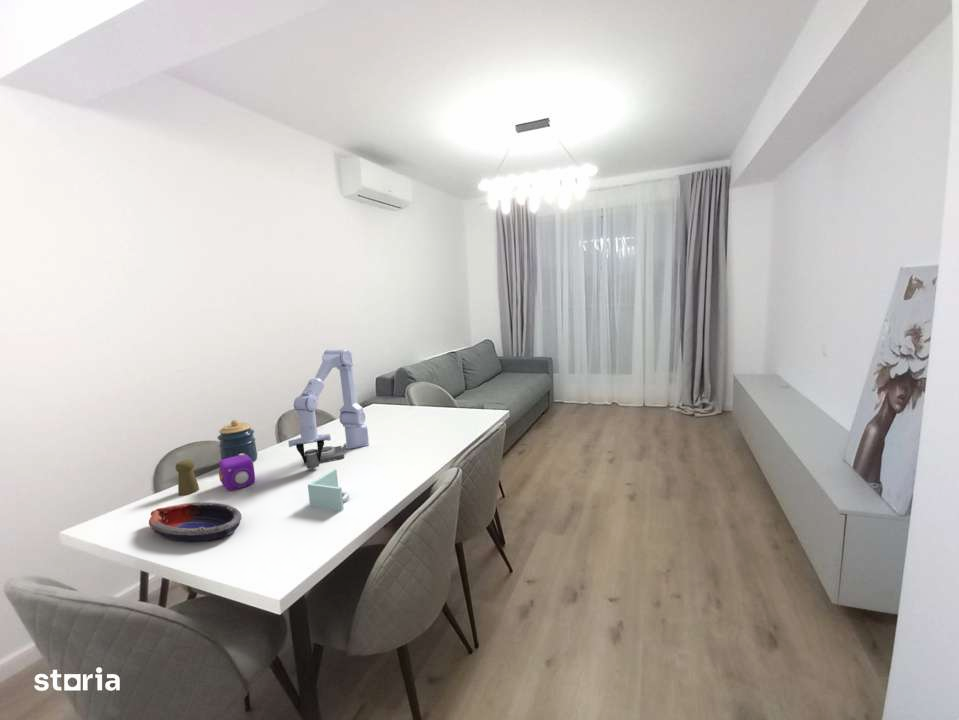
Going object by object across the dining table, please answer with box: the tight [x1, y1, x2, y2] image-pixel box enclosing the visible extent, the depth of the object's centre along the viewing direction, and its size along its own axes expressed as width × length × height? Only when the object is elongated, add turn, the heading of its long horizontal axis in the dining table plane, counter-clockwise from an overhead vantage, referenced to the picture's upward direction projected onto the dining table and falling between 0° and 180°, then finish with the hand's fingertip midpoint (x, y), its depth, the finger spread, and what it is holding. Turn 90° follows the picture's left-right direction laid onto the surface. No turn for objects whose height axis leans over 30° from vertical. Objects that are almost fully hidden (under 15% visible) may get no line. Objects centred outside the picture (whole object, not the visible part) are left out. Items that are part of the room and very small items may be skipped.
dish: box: [148, 501, 243, 542], centre depth 117 cm, size 16×31×5 cm, turn 70°
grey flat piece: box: [316, 445, 345, 463], centre depth 169 cm, size 14×12×3 cm
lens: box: [304, 448, 320, 470], centre depth 156 cm, size 4×4×6 cm
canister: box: [217, 419, 258, 463], centre depth 167 cm, size 13×13×18 cm
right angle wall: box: [307, 468, 351, 512], centre depth 131 cm, size 12×12×8 cm
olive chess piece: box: [175, 459, 200, 497], centre depth 142 cm, size 6×6×11 cm
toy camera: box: [218, 453, 256, 491], centre depth 144 cm, size 11×14×10 cm
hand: (312, 461), depth 156 cm, fingers closed on lens, 4 cm apart
